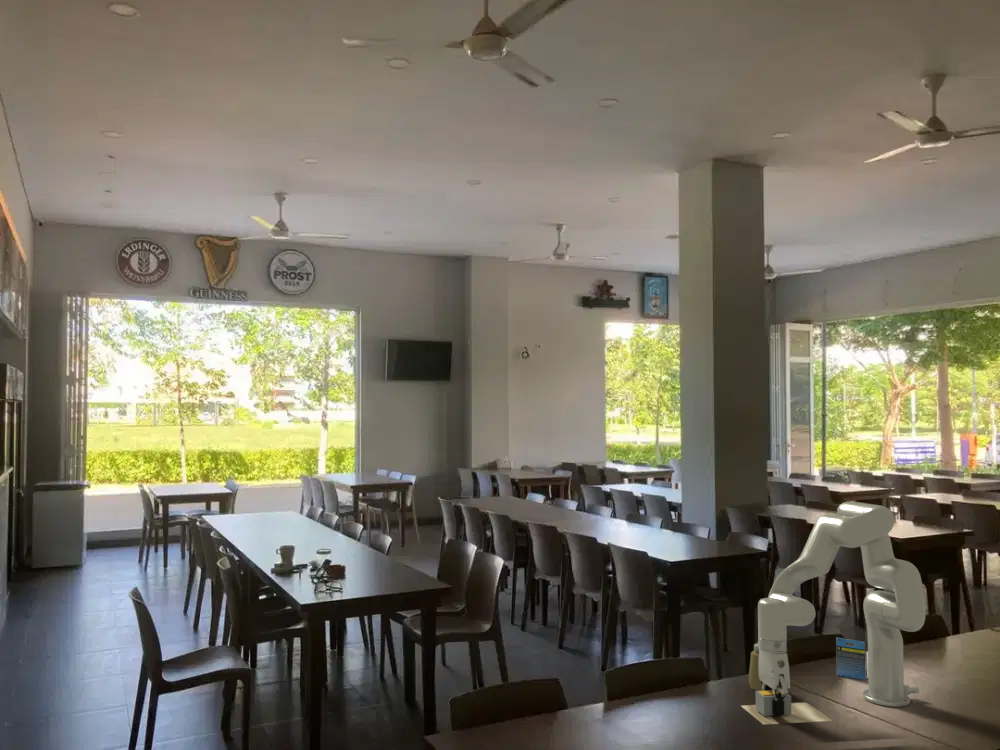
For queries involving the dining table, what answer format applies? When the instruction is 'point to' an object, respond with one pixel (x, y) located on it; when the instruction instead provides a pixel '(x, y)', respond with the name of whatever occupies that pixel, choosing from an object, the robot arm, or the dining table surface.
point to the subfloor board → (790, 715)
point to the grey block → (770, 702)
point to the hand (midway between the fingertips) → (773, 710)
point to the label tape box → (851, 659)
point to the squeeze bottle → (754, 670)
